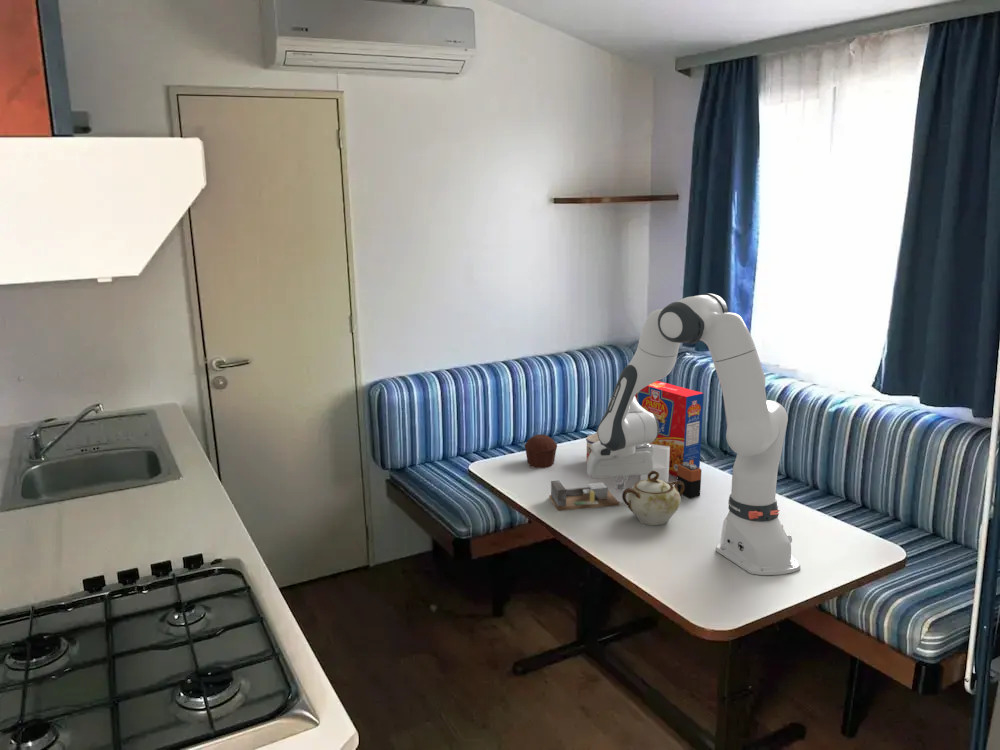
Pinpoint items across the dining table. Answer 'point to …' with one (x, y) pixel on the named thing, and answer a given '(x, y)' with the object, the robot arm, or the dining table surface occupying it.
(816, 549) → the dining table surface
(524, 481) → the dining table surface
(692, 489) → the battery
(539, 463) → the muffin
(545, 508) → the dining table surface
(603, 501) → the bench
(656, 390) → the pasta box
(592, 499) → the telltale marker
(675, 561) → the dining table surface
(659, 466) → the base with upright slab
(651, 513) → the sugar bowl
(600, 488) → the gauge plunger
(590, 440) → the teacup with lid
